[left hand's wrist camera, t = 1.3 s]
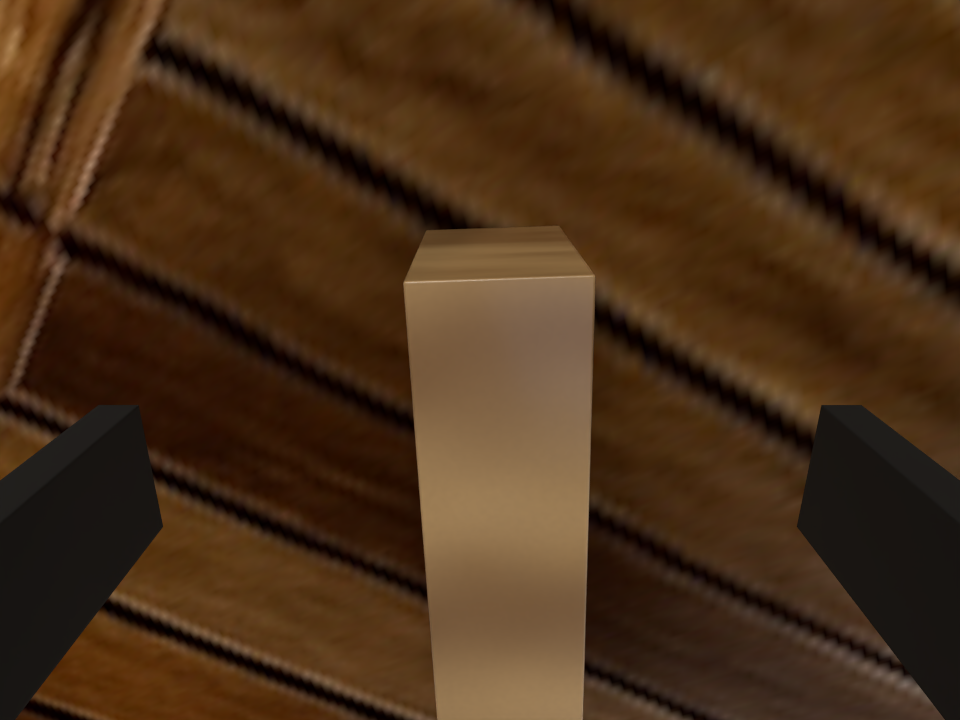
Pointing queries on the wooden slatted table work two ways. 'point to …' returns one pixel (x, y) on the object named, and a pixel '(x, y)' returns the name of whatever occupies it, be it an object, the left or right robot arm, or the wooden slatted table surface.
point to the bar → (503, 465)
